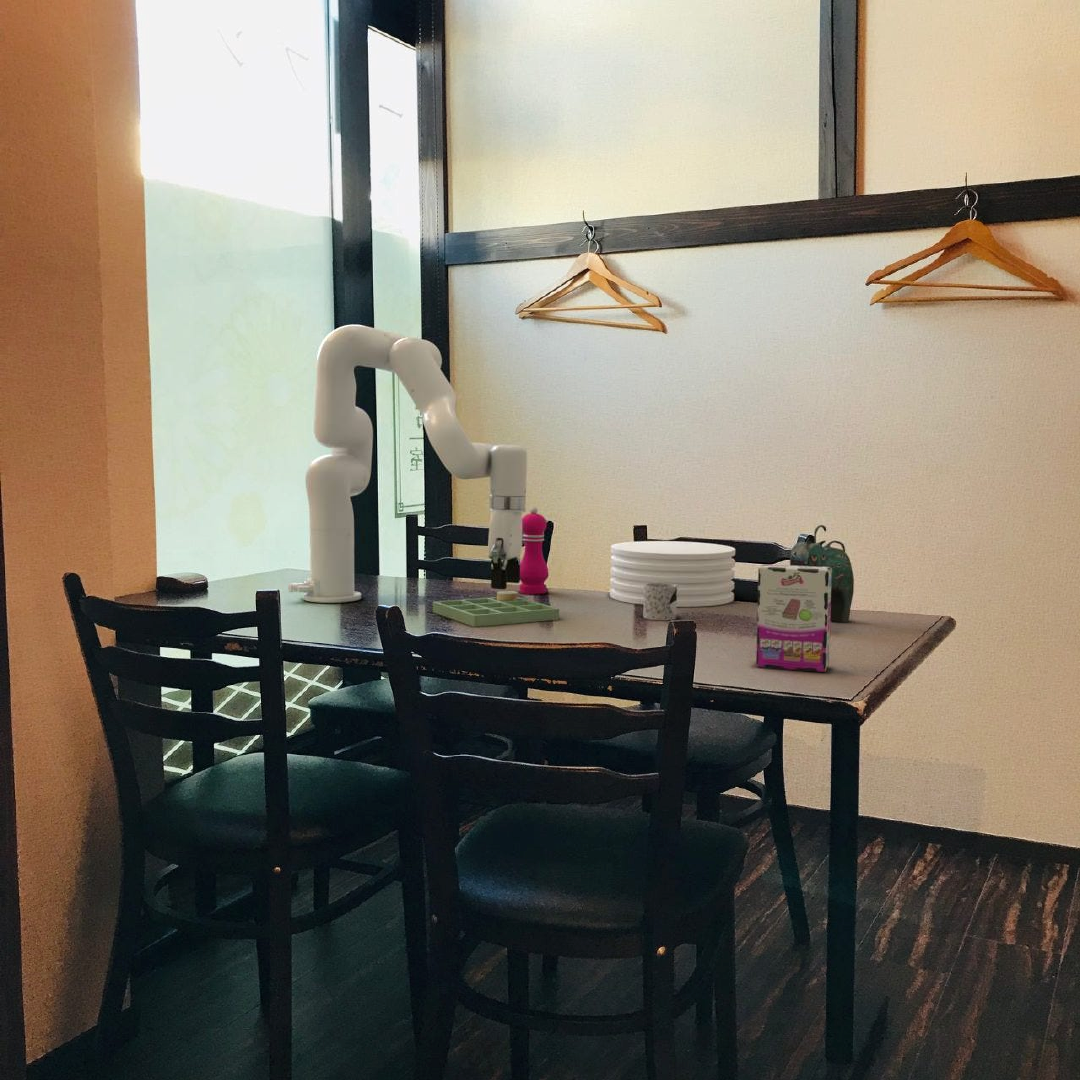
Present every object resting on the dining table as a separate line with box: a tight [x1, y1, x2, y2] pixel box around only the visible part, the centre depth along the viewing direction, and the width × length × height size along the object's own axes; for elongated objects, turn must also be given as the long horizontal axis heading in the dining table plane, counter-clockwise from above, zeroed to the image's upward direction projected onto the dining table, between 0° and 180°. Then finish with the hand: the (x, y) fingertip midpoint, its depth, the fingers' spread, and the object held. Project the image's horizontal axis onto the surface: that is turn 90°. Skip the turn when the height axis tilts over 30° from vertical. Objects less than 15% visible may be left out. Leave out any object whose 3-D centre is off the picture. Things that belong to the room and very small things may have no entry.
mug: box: [642, 583, 677, 621], centre depth 227 cm, size 10×7×7 cm, turn 177°
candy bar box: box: [755, 564, 832, 673], centre depth 179 cm, size 11×5×16 cm, turn 69°
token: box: [496, 590, 519, 602], centre depth 234 cm, size 4×4×3 cm
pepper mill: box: [518, 506, 550, 595], centre depth 258 cm, size 7×7×20 cm
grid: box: [432, 596, 560, 628], centre depth 226 cm, size 19×19×2 cm
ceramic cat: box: [789, 524, 855, 623], centre depth 218 cm, size 20×6×20 cm, turn 137°
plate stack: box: [609, 540, 736, 608], centre depth 253 cm, size 28×28×12 cm
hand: (505, 585), depth 234 cm, fingers open, 9 cm apart
